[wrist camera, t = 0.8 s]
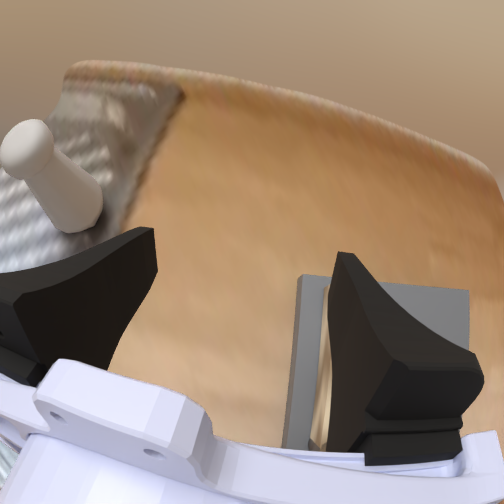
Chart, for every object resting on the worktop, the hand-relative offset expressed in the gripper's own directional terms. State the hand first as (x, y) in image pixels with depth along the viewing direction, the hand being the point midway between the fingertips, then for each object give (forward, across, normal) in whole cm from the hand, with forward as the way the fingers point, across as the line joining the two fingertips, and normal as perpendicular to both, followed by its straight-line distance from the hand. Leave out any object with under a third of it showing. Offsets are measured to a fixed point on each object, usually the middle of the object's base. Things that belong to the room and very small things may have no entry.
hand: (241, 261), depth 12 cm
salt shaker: (+14, +18, +6) cm, 23 cm away
